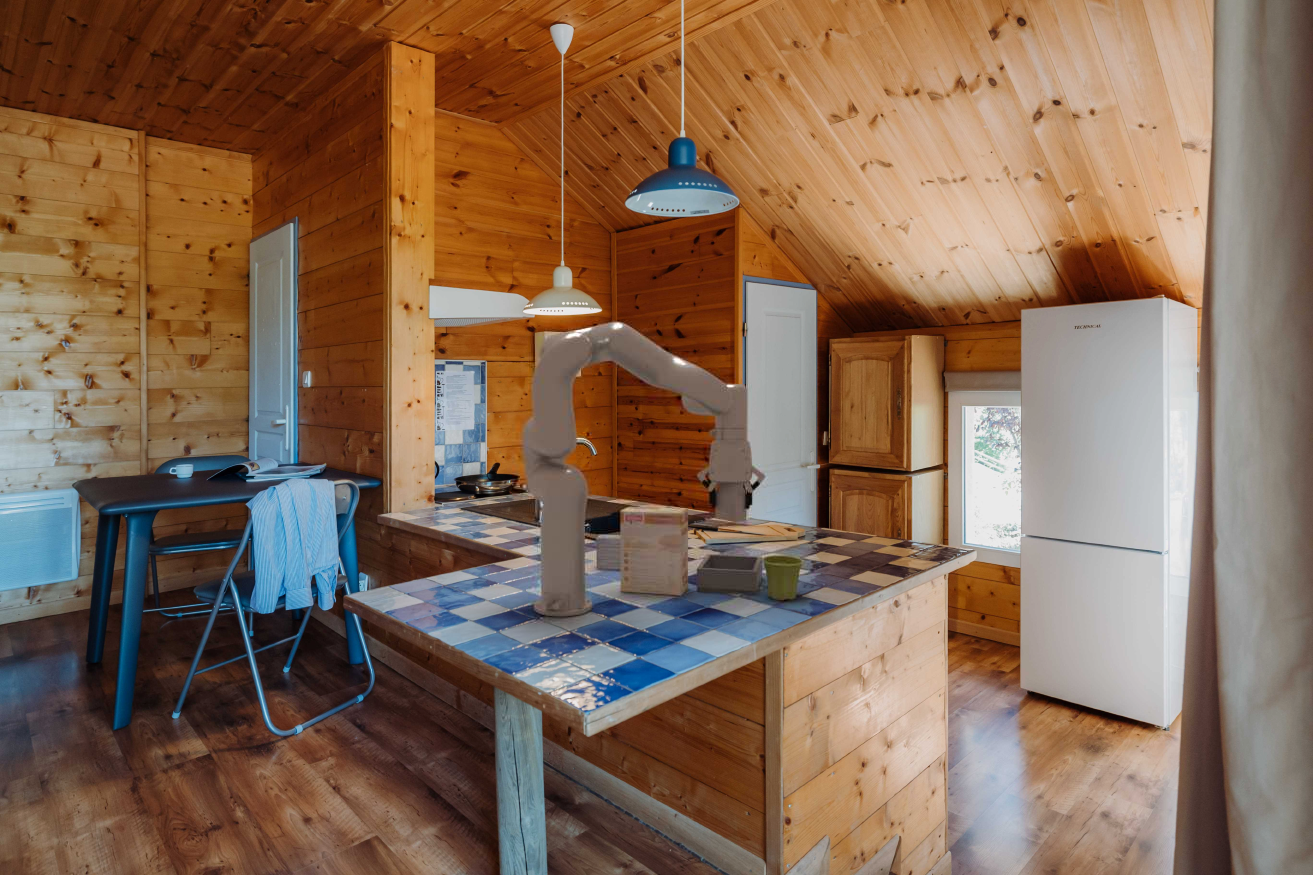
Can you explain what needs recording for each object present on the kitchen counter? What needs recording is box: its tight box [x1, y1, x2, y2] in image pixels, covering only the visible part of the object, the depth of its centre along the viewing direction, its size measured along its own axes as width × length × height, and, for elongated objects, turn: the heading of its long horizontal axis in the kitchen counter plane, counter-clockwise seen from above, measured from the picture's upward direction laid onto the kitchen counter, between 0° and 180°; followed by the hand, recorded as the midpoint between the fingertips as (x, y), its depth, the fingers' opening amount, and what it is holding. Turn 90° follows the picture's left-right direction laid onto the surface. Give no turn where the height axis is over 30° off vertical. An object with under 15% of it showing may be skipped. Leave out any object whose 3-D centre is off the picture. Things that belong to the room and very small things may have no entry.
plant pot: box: [762, 554, 805, 601], centre depth 171 cm, size 9×9×9 cm
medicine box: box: [595, 534, 621, 571], centre depth 199 cm, size 8×4×9 cm, turn 84°
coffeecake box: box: [619, 506, 689, 597], centre depth 177 cm, size 15×7×20 cm, turn 74°
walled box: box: [696, 553, 763, 596], centre depth 182 cm, size 16×14×6 cm
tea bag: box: [714, 482, 747, 523], centre depth 181 cm, size 4×7×10 cm, turn 40°
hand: (730, 507), depth 181 cm, fingers closed on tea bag, 7 cm apart
